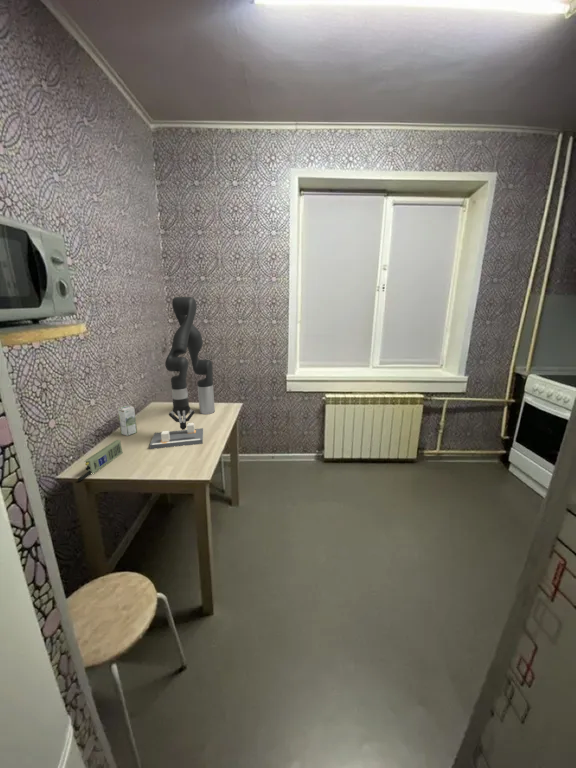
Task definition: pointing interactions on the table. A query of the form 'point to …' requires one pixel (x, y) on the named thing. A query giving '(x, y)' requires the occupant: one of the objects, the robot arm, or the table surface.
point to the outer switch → (165, 436)
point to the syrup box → (127, 420)
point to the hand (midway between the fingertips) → (183, 428)
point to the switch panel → (178, 439)
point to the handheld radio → (102, 458)
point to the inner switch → (190, 427)
